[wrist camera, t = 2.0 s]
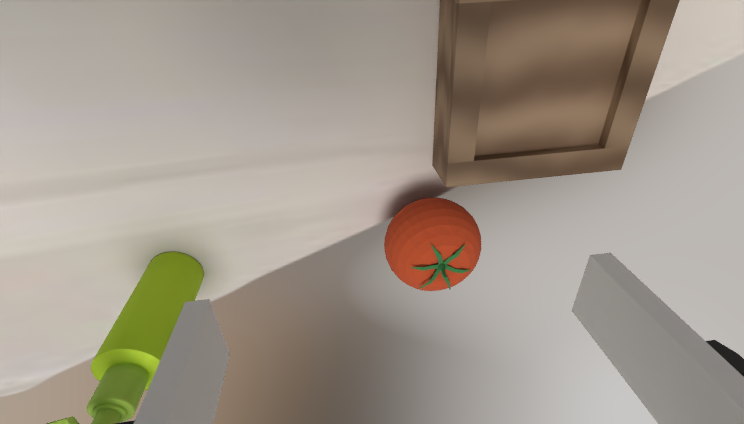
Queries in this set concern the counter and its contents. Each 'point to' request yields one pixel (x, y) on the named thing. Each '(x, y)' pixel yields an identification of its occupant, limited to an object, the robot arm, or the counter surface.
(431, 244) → the tomato
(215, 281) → the counter surface
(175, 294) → the soap dispenser
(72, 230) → the counter surface
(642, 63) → the walnut box
